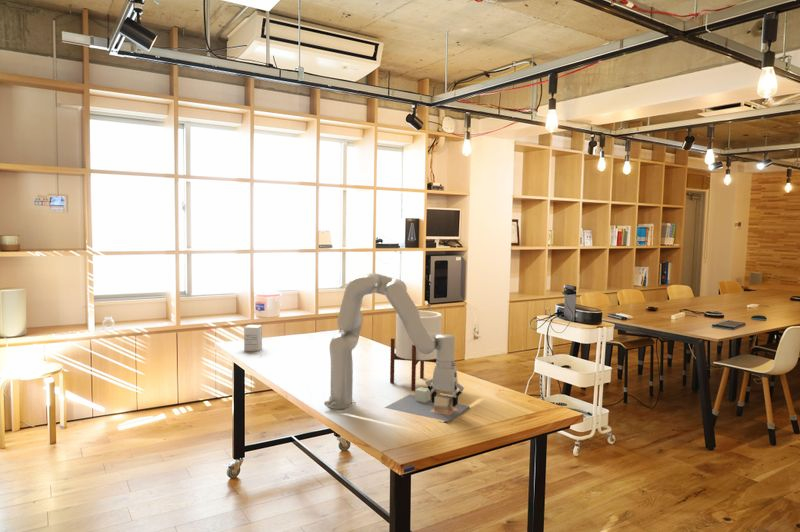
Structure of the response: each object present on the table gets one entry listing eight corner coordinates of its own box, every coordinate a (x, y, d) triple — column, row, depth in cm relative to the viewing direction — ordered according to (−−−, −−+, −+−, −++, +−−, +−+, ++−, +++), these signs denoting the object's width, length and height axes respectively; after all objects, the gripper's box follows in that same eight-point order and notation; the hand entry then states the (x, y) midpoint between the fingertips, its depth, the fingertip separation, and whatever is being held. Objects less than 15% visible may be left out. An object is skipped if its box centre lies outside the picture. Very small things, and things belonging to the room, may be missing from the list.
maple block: (447, 413, 227) (447, 399, 227) (434, 410, 230) (434, 396, 230) (453, 409, 232) (453, 395, 232) (440, 406, 235) (440, 393, 235)
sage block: (425, 402, 241) (425, 391, 241) (415, 400, 243) (415, 389, 243) (430, 399, 245) (430, 388, 245) (420, 397, 248) (420, 386, 247)
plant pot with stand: (412, 394, 256) (413, 318, 254) (386, 382, 275) (387, 312, 272) (449, 387, 269) (451, 315, 266) (422, 376, 287) (424, 309, 285)
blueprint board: (447, 423, 218) (447, 421, 218) (384, 409, 233) (384, 407, 233) (469, 408, 237) (469, 406, 237) (409, 396, 252) (409, 394, 252)
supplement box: (248, 347, 347) (248, 324, 346) (262, 348, 347) (262, 324, 346) (243, 351, 338) (243, 327, 337) (258, 351, 338) (258, 327, 337)
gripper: (467, 365, 229) (466, 405, 230) (430, 359, 237) (430, 398, 239) (460, 368, 222) (459, 410, 223) (422, 362, 231) (422, 402, 232)
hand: (444, 403), depth 231 cm, fingers open, 9 cm apart
